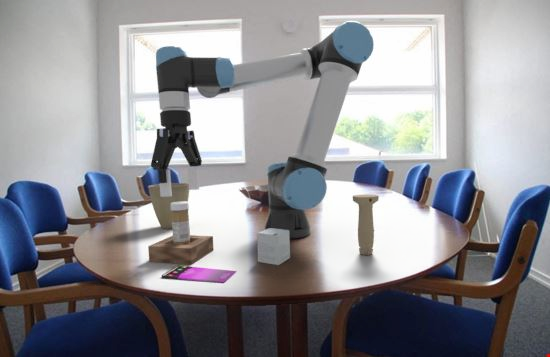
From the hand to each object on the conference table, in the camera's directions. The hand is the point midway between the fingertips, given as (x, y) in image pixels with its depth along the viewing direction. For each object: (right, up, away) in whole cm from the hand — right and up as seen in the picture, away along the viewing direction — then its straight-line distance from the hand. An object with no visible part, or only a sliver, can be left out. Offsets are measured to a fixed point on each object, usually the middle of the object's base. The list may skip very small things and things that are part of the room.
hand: (181, 192), depth 87 cm
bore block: (0, -17, +1) cm, 17 cm away
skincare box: (+24, -17, -5) cm, 30 cm away
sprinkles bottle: (0, -16, +1) cm, 16 cm away
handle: (+48, -16, -2) cm, 51 cm away
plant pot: (-14, -15, +38) cm, 44 cm away
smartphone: (+8, -18, -13) cm, 24 cm away
